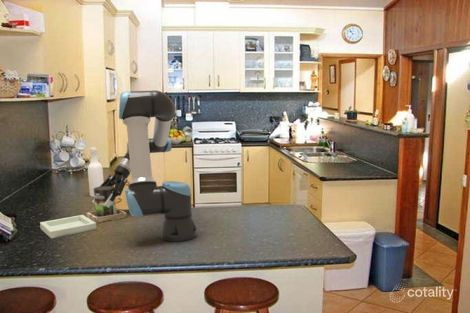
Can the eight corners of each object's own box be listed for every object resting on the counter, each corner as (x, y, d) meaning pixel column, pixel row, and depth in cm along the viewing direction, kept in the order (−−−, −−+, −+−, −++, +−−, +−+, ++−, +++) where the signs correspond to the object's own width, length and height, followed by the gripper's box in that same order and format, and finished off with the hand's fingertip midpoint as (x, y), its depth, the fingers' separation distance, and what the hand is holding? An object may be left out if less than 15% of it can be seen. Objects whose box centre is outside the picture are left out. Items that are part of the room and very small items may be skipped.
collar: (126, 217, 229) (126, 212, 228) (96, 223, 220) (95, 218, 220) (115, 211, 241) (115, 207, 241) (86, 217, 233) (86, 212, 232)
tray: (96, 229, 210) (96, 223, 209) (51, 238, 198) (50, 231, 198) (83, 220, 226) (82, 214, 226) (40, 228, 215) (39, 222, 214)
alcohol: (86, 197, 281) (82, 148, 277) (95, 193, 290) (91, 146, 286) (99, 197, 279) (95, 148, 275) (107, 194, 287) (103, 146, 283)
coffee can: (106, 218, 224) (104, 190, 222) (91, 216, 228) (88, 189, 227) (121, 213, 233) (119, 186, 231) (105, 212, 237) (103, 185, 236)
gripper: (142, 174, 232) (118, 211, 222) (116, 171, 247) (92, 206, 237) (133, 166, 228) (108, 203, 218) (107, 163, 242) (82, 198, 233)
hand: (100, 204), depth 227 cm, fingers closed on coffee can, 10 cm apart
